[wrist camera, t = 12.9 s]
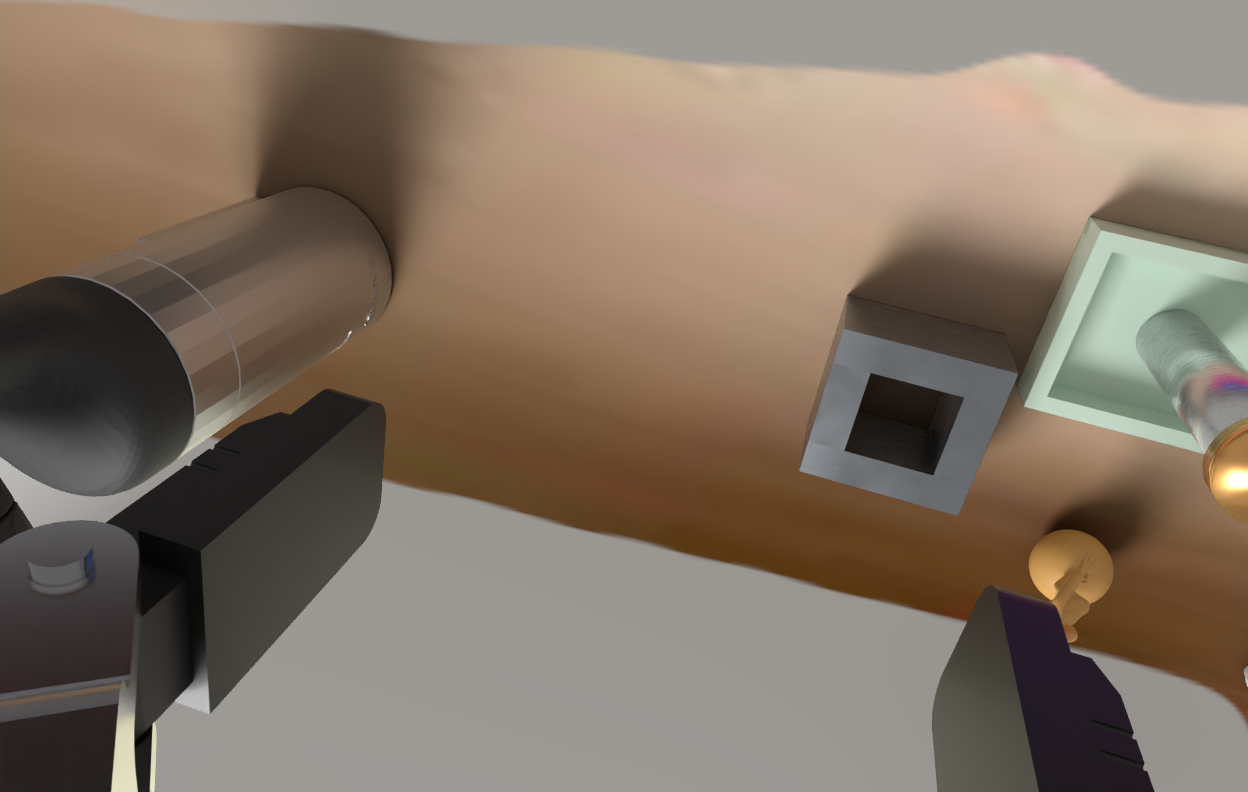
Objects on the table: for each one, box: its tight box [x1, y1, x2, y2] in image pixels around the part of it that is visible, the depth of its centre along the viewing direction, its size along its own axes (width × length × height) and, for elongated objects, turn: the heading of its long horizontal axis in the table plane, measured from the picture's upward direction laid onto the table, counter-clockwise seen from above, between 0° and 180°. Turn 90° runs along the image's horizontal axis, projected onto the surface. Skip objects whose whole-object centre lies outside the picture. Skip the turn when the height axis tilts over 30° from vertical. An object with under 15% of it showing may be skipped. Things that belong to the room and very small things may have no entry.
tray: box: [1017, 217, 1248, 454], centre depth 41 cm, size 11×9×2 cm
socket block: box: [799, 295, 1018, 516], centre depth 45 cm, size 8×8×5 cm
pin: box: [1135, 309, 1248, 525], centre depth 36 cm, size 4×4×13 cm
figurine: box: [1029, 529, 1113, 643], centre depth 43 cm, size 8×6×12 cm
